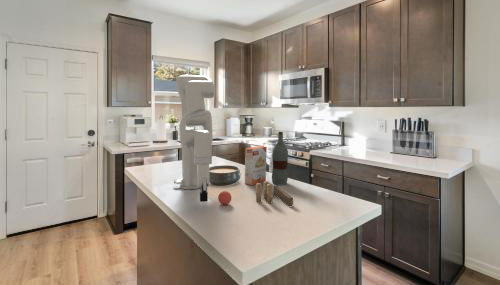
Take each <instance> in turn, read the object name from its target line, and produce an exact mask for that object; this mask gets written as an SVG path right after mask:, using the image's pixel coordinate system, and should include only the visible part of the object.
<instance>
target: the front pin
mask: <svg viewBox="0 0 500 285" xmlns="http://www.w3.org/2000/svg"><path fill="white" fill-rule="evenodd" d="M255 190H256V192H255V202H256V203H261V202H262V182H260V183H257V184H255Z"/></svg>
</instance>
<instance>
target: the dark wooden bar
mask: <svg viewBox="0 0 500 285" xmlns="http://www.w3.org/2000/svg"><path fill="white" fill-rule="evenodd" d="M273 194H274V195H275V197H277V196H278V197H279V198H280V199H281V200H282V202H283V201H284V202H285V203H286V204H287V205H288V206H292V205H293V206H294V197H293V196H292V195H290V194H289V193H288V192H286V191H285V190H284V189H282V187H279V185H273ZM278 197H277V198H278ZM279 198H278V199H279ZM280 199H279V200H280ZM281 200H280V201H281ZM284 202H283V203H284ZM285 203H284V204H285ZM286 204H285V205H286ZM287 205H286V206H287ZM288 206H287V207H288Z"/></svg>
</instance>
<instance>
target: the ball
mask: <svg viewBox="0 0 500 285" xmlns="http://www.w3.org/2000/svg"><path fill="white" fill-rule="evenodd" d="M217 200H218V202H219V203H220V204H221V205H228V204H230V203H231V201H232V195H231V193H230V192H229V191H225V190H223V191H221V192H219V194H218V198H217Z"/></svg>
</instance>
